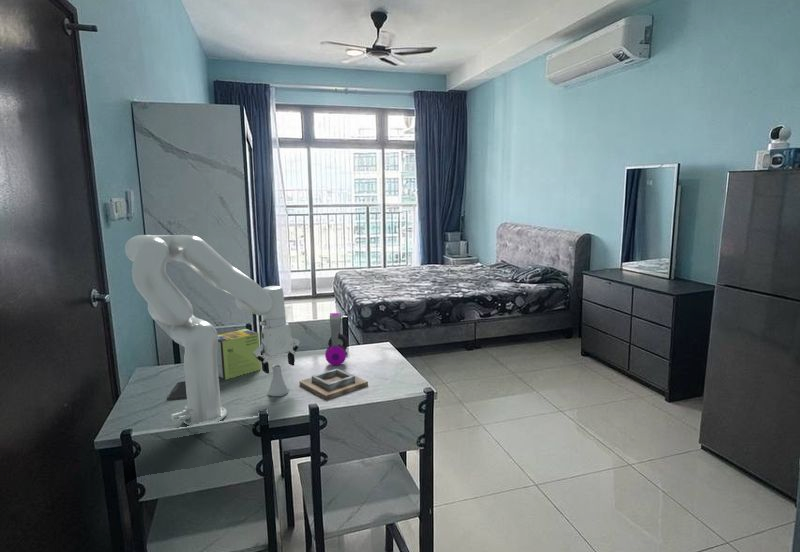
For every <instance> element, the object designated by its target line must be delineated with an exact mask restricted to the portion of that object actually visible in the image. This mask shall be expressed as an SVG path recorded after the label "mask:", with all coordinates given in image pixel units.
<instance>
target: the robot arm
mask: <svg viewBox="0 0 800 552" xmlns="http://www.w3.org/2000/svg"><path fill="white" fill-rule="evenodd" d="M124 252H125V254H126V257H127V258H128V259H129V260H130V261H131V262H132V267H131V268H132V269H131V276H132V282H133V285H134V287H135V289H136V290H137V291H138V293H139V294H140V295H141V296H142V298H143V299H144V300H145V302H147V311H148V313H149V315H150V318H152V320H154V322H155V323H157V325H158V327H160V329H162V330H163V331H164V332H165V333H166V334H167V335H168V337H170V339H171V340H172V341H174V342H175V343H176V344H178V345H180V346H182V347H183V348H184V355H183V370H184V381H185V383H186V394H187V399H186V401H187V403H186V404H187V405H184V409H182V410H181V411H180V412H174V413H172V414H171V415H170V418H171V421H176V420H178V421H179V422H182V421H183V424H184V423H185V424H187V425H193V424H199V422H203V421H207V420H209V421H210V420H213V419H220V418H223V417H225V416H226V417H227V415H228V412H227V409H226V408H225V407H223V406H222V404H221V401H222V400H221V392H220V391H221V389H220V379H219V378H220V377H219V376H218V365H217V346H218V335H219V334H218V331H217V329H216V328H215V326H214V325H213V324H212V323H210V322H208V321H207V320H204V319H201V318H198V317H197V316H195V315H194V314H193V312H194V309H193V305H192V303H191V301H190V299H188V298H187V297H186V296H185V295H184V293H182V292H181V290H180V289H179V288H178V287H177V285H176V284H174V282H173V281H172V280H171V279H170V277H169V275H168V273H167V269H166V268H167V264H169V263H184V264H185V265H187V266H188V267H189V268H190V269H192V271H194V272H196V273H197V274H198V275H199V276H201V277H202V278H203V279H204V280H205V281H206V282H207V283H208V284H209V285H211V286H212V287H215V288H216V289H217V290H220V291H223V292H224V293H227V294H230V295H231V296H232V297H235V305H236V307H237V308H238V309H239V310H240V311H243V312H246V313H250V314H252V315H256V316H262V321H259V325H260V326H262V328H261V338H260V339H261V340H260V341H261V342H260V345H259V347H258V348H257V349H256V350H255V351H253V354H254V355H255V357H256V358H257V359H258V360H260V363H261V370H262V372H264V373H265V374H270V365H269V362H268V360H269V358H270V357H271V358H272V357H276V356H279V355H283V354H287V361H288V363H287V364H288V365H289V366H295V361H296V360H295V355H296V352H297V350H298V348H299V345H300V342H301V341H300V340H299V339H298V338H297V339H296V338H293V336H292V332H291V331H292V330H291V328H290V325H289V323H287V318H286V309H285V306H286V305H285V296H284V295H285V294H284V289H283V287H282V286H279V285H269V286H264V287H262V286H261V285H259V283H257V282H256V281H255V280H253V279H252V278H250V277H249V276H248V275H246V274H245V273H243V272H242V271H241V270H239V268H237V267H234V266H233V265H232V264H231V263H230V262H228V261H227V260H226V259H225V258H223V256H222V255H220V253H218V252H217V251H216V250H215V249H214V248H213V247H212V246H211V245H210V244H208V243H207V242H206V241H205V240H204V239H202V238H200V237H199V236H196V235H191V234H190V235H189V234H155V235H154V234H139V235H135V236H133V237H131V238H129V239H128V240H127V242H126V244H125V247H124ZM261 352H262V355H261V354H260V355H259V353H261ZM226 417H225V418H226ZM185 424H184V425H185ZM187 425H186V426H187Z"/></svg>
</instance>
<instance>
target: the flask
mask: <svg viewBox="0 0 800 552" xmlns="http://www.w3.org/2000/svg"><path fill="white" fill-rule="evenodd" d="M282 366H283V365H282V364H273V365H272V367H271V369H272V371H273V373H272V378H271V379H272V380H271V382H270V385H269V389H268V392H267V395H268V396H270V397H282V396H283V397H284V396H285V395H287V394H288V393H289V391H290V388H289V387H288V384H287V383H286V381H285V378H284V376H283V372H282Z"/></svg>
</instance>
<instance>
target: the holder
mask: <svg viewBox="0 0 800 552" xmlns="http://www.w3.org/2000/svg"><path fill="white" fill-rule="evenodd" d="M298 384H299V386H300V387H302V388H304V389H305V390H307V391H309V392H312V393H313V394H315V395H317V396H318V397H320V398H322V399H324V400H325V401H328V400H330V399H333V398H335V397H338V396H341V395H344V394H347V393H351V392H353V391H356V390H359V389H362V388H365V387H367V386H369V382H368V380H365V379H363V378H361V377H359V376H356V375H354V374H352V373H350V372H347V371H345V370H343V369H341V368H334V369H330V370H327V371H324V372H320V373H317V374H313V375H312V376H311V377H309V378H306V379H302V380H299V383H298Z"/></svg>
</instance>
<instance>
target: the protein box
mask: <svg viewBox="0 0 800 552" xmlns="http://www.w3.org/2000/svg"><path fill="white" fill-rule="evenodd" d="M259 346H260V337H259V332H256V331H253V330H250V329H248V328H243V329H239V330H235V331H230V332H225V333H222V334H218V346H217V365H218V377H219V378H220V379H222V378H223V379H222V380H225V381H227V380H230V378H231V379H234V378H236V377H237V376H238V377H241V376H244V375H243V374H245V375H247V373H248V374H251V373H254V372H253V371H255V372H258V371H261V370H262V363H261V361H260V360H258V359H257V358H256V357H255V355H254V354H253V351H255V350H256V349H257V348H258V347H259ZM260 353H261V352H260ZM260 353H259V355H260V356H261V354H260ZM260 369H261V370H260ZM257 370H258V371H257ZM250 372H251V373H250ZM240 375H241V376H240Z"/></svg>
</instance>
